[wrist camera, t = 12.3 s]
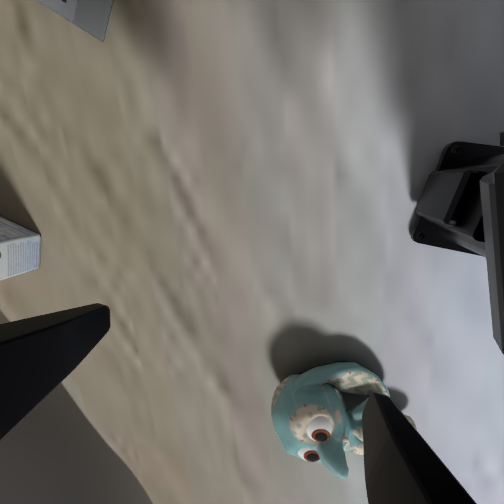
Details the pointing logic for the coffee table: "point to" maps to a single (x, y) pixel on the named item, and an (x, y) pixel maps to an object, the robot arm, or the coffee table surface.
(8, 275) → the medicine box
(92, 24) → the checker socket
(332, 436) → the stuffed animal
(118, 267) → the coffee table surface
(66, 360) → the robot arm
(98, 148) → the coffee table surface
